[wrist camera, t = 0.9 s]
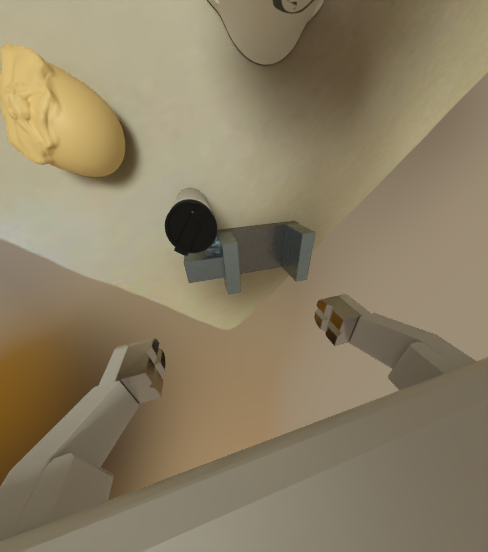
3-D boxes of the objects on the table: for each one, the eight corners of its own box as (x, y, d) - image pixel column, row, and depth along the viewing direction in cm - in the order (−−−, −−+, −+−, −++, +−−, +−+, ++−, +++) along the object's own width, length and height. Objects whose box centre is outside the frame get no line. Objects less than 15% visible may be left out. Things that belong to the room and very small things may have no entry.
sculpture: (38, 60, 24) (-55, -7, 15) (137, 117, 29) (112, 92, 20) (40, 152, 28) (-32, 143, 19) (126, 187, 33) (101, 193, 24)
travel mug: (171, 211, 37) (154, 243, 20) (184, 181, 35) (176, 190, 18) (198, 225, 40) (203, 264, 23) (212, 199, 38) (227, 220, 21)
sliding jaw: (192, 282, 44) (192, 301, 38) (181, 237, 38) (178, 250, 31) (234, 275, 46) (240, 292, 40) (230, 231, 40) (237, 242, 33)
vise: (209, 275, 47) (212, 297, 39) (201, 231, 40) (203, 247, 32) (289, 261, 51) (308, 279, 43) (294, 220, 45) (317, 232, 37)
